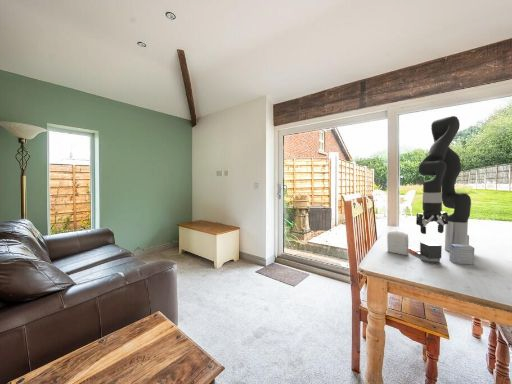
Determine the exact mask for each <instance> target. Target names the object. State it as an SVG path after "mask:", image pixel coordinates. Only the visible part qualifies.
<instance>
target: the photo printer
mask: <svg viewBox="0 0 512 384" xmlns="http://www.w3.org/2000/svg"><path fill="white" fill-rule="evenodd" d="M386 236H387V246H386V247H387V252H388V253H393V254H399V255H403V256H408V255H409V252H408V248H409V235H408V234H407V233H405V232H403V231H398V230H390V231H388V232H387V235H386Z"/></svg>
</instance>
